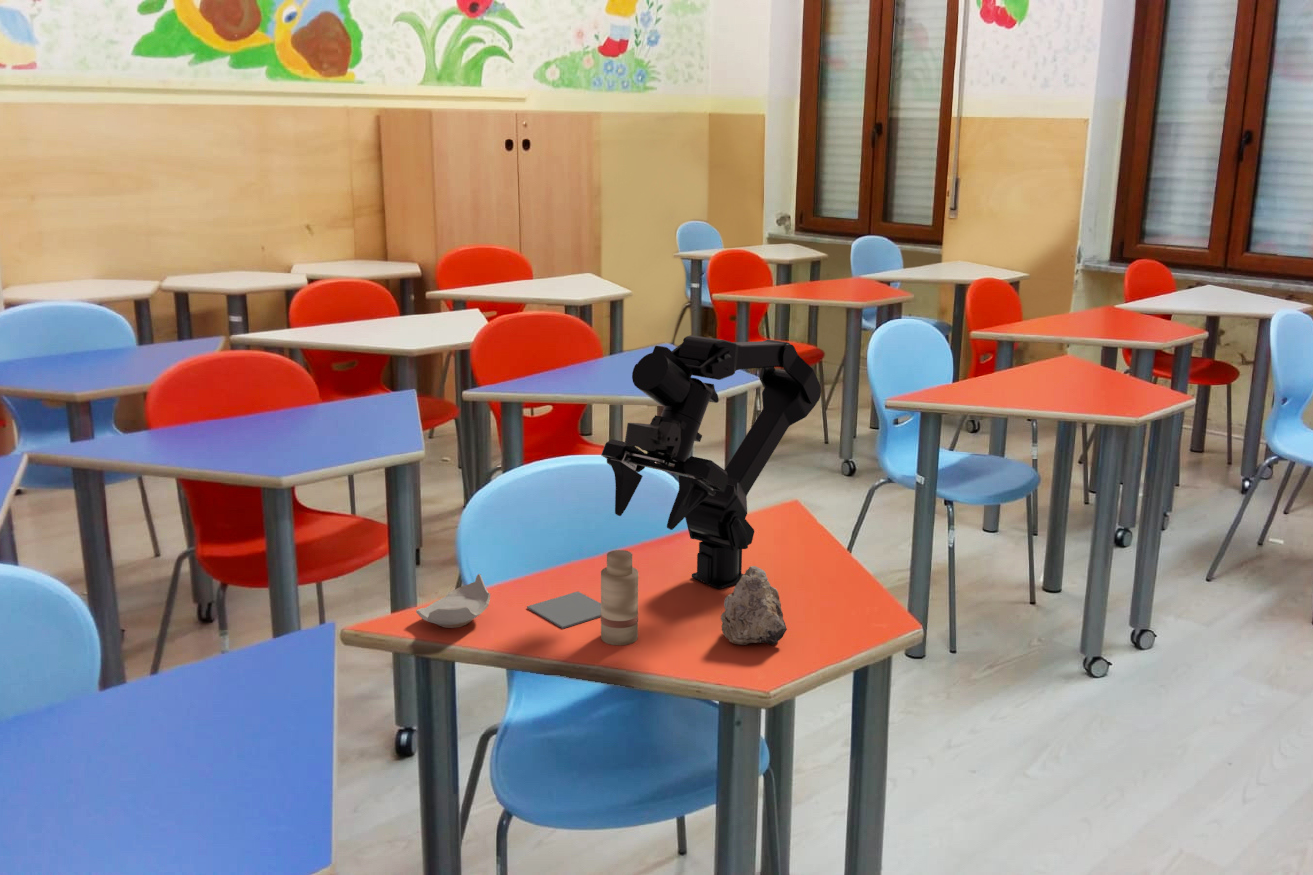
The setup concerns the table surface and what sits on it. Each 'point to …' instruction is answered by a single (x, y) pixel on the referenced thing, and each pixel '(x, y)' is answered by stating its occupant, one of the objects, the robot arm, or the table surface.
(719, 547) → the robot arm
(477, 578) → the pottery shard
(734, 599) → the rock
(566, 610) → the mat
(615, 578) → the skittle
